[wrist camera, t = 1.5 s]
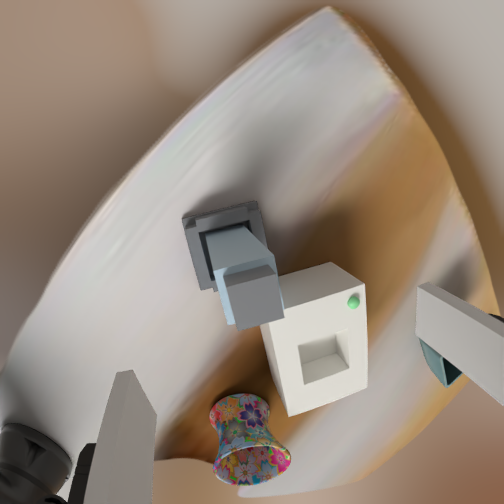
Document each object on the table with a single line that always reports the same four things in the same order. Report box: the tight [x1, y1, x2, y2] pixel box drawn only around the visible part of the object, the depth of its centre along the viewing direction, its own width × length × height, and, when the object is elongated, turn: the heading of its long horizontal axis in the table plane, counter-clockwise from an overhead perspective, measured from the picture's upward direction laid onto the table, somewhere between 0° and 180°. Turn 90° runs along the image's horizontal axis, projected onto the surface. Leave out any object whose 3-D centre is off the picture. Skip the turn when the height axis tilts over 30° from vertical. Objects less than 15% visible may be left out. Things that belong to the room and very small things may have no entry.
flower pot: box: [419, 338, 463, 388], centre depth 38 cm, size 9×9×9 cm
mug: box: [209, 393, 291, 486], centre depth 34 cm, size 12×9×11 cm
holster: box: [182, 201, 268, 292], centre depth 32 cm, size 8×8×2 cm
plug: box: [205, 224, 285, 331], centre depth 25 cm, size 4×4×15 cm
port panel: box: [260, 262, 367, 417], centre depth 33 cm, size 10×14×8 cm
